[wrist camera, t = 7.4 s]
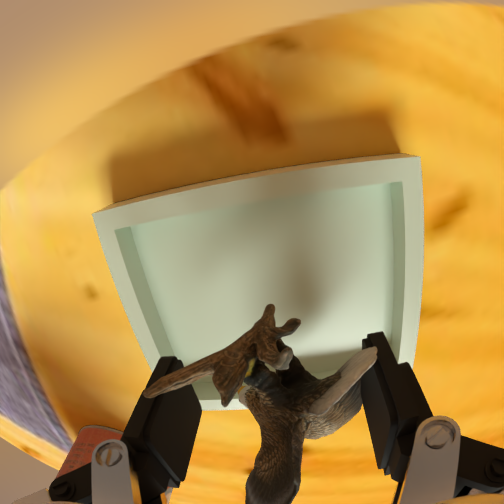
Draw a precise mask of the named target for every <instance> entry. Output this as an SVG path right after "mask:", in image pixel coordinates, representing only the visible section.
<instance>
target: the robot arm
mask: <svg viewBox="0 0 504 504" xmlns="http://www.w3.org/2000/svg"><path fill="white" fill-rule="evenodd" d="M374 346H375V347H376V348H377V354H376V355H377V359H376V361H375V363H374V365H373V366H372V367H371V368H369V369H368V370H367V371H366V372H365V373H364V374H363V375H362V376H361V388H360V391H361V398H362V402H363V406H364V410H365V414H366V418H367V423H368V427H369V431H370V435H371V439H372V444H373V448H374V453H375V457H376V462H377V466H378V469H384V474H385V475H389V474H391V478H392V479H393V480H395V481H397V486H396V489H395V493H394V496H393V499H392V502H391V504H504V449H503V448H499V447H496V446H493V445H489V444H486V443H483V442H480V441H477V440H474V439H471V438H468V437H465V436H462V435H461V433H460V428H459V426H458V424H457V423H456V422H455V421H454V420H453V419H451V418H449V417H446V416H433V414H432V412H431V410H430V407H429V405H428V403H427V401H426V398H425V396H424V394H423V392H422V389H421V387H420V385H419V383H418V381H417V379H416V376H415V374H414V372H413V370H412V368H411V366H410V364H409V363H408V362H404V363H400V364H398V363H397V360H396V358H395V356H394V354H393V352H392V349H391V347H390V345H389V343H388V341H387V339H386V336H385V334H384V332H383V331H380V332H375V333H370V334H367V338H365V339H362V350H363V349H367V348H369V347H371V348H372V347H374ZM183 367H184V365H183V362H182V361H181V360H178V359H177V357H176V356H162V357H160V359H159V360H158V363H157V365H156V367H155V369H154V371H153V373H152V375H151V377H150V379H149V381H148V384H147V386H146V388H145V390H146V389H147V388H149V387H150V386H151V385H152V384H154V383H155V382H156V381H157V380H159V379H160V378H161V377H164V376H166V375H168V374H170V373H173V372H175V371H177V370H179V369H181V368H183ZM143 392H144V390H143ZM143 392H142V394H141V396H140V398H139V400H138V402H137V404H136V406H135V409H134V411H133V413H132V415H131V417H130V419H129V422H128V424H127V426H126V428H125V430H124V433H123V435H122V437H121V439H120V440H116V439H109V440H106V441H103V442H101V443H100V444H98V445H97V446H96V447H95V449H94V451H93V452H92V462H90V463H88V464H86V465H84V466H82V467H79V468H77V469H75V470H73V471H71V472H69V473H66V474H64V475H62V476H59V477H58V478H56V479H55V480H54V481H53V482H52V483H51V485H50V487H49V490H48V489H46V488H45V489H42V490H40V491H38V492H36V493H33V494H31V495H28V496H26V497H23V498H21V499H18V500H16V501H14V502H13V503H12V504H167V501H166V496H165V492H166V491H167V487H174V488H179V486H180V482H181V481H182V482H183V481H184V480H185V477H186V473H187V469H188V465H189V461H190V457H191V453H192V449H193V445H194V441H195V438H196V434H197V430H198V426H199V422H200V418H201V414H202V407H201V404H200V402H199V400H198V397H197V395H196V393H195V391H194V388H193V386H192V384H188V385H185V386H183V387H181V388H179V389H176V390H172V391H169V392H166V393H162V394H159V395H157V396H155V397H153V398H146V397H145V396H144V395H143Z"/></svg>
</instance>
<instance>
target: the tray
mask: <svg viewBox="0 0 504 504" xmlns="http://www.w3.org/2000/svg"><path fill="white" fill-rule="evenodd" d="M92 216H93V219H94V223H95V226H96V229H97V233H98V236H99V239H100V242H101V245H102V249H103V252H104V255H105V258H106V261H107V264H108V266H109V269H110V272H111V275H112V278H113V281H114V283H115V286H116V289H117V291H118V294H119V297H120V299H121V302H122V304H123V307H124V309H125V312H126V314H127V317H128V319H129V322H130V324H131V326H132V329H133V331H134V333H135V336H136V338H137V340H138V343H139V345H140V347H141V349H142V351H143V354H144V356H145V358H146V360H147V362H148V364H149V366H150V368H151V371H152V373H153V371H154V369H155V367H156V365H157V363H158V360H159V359H160V357H162V356H176V357H177V359H178V360H181V361H182V362H183V365H184V367H185V366H188V365H190V364H192V363H194V362H196V361H198V360H200V359H202V358H204V357H206V356H209V355H211V354H213V353H215V352H217V351H220V350H222V349H224V348H226V347H227V346H229V345H230V344H232V343H233V342H234V341H236V340H237V339H238V338H240V337H241V336H242V335H243V334H244V333H246V332H247V331H249V330H250V329H251V328H252V327H253V326H254V323H255V322H257V321H258V320H259V319H261V317H262V315H263V313H264V310H265V307H266V306H267V305H268V304H274V306H275V313H274V317H275V321H276V327H282V326H283V325H284V324H285V323H286V322H287V320H289V319H291V318H297V319H300V320H301V324H300V326H299V327H298V328H297V330H296V331H295V332H294V333H293V334H291V335H288V336H284V337H282V338H281V339H282V341H283V343H284V344H285V345H287V346H289V347H291V348H292V350H293V354H294V356H296V357H297V358H298V359H299V361H300V362H301V364H302V365H303V367H304V368H305V370H307V371H308V372H309V373H310V374H311V375H313V376H314V377H316V378H317V379H324V378H326V377H328V376H331V375H333V374H335V373H336V372H337V371H338V369H340V368H341V367H342V366H343V365H344V364H345V363H346V362H347V361H348V360H349V359H350V358H351V357H352V356H353V355H355V354H356V353H357V352H359V351H361V350H362V339H365V338H367V334H370V333H375V332H380V331H383V332H384V334H385V336H386V339H387V341H388V343H389V345H390V347H391V349H392V352H393V354H394V356H395V358H396V360H397V363H398V364H400V363H404V362H408V363H409V364H410V366H411V368H412V369H413V363H414V357H415V351H416V344H417V336H418V328H419V319H420V310H421V298H422V284H423V264H424V205H423V185H422V171H421V160H420V156H415V155H409V154H403V153H396V154H385V155H375V156H365V157H356V158H347V159H339V160H331V161H323V162H316V163H309V164H302V165H295V166H288V167H282V168H276V169H270V170H264V171H258V172H252V173H247V174H241V175H236V176H231V177H226V178H220V179H215V180H211V181H206V182H201V183H196V184H191V185H187V186H182V187H178V188H173V189H169V190H165V191H161V192H156V193H152V194H148V195H144V196H140V197H136V198H132V199H128V200H124V201H121V202H117V203H113V204H111V205H109V206H107V207H105V208H103V209H101V210H99V211H97V212H95V213H93V214H92ZM265 365H266V366H267V367H268V368H269V370H270V371H273V372H275V373H276V370H275V369H274V368H272V367H271V366H270V365H268V364H266V363H265ZM360 378H361V377H360ZM191 384H192V386H193V388H194V391H195V393H196V395H197V397H198V400H199V402H200V404H201V407H202V410H237V409H248V408H246V407H245V406H244V405H243V404H241V403H240V402H239V395H238V392H237V393H236V394H235V396H234V398H233V399H232V400H231V402H230V403H229V405H228V406H227V407H223V406H222V404H221V396H220V394H219V392H218V390H217V389H216V387H215V385H214V384H213V381H212V376H210V375H209V376H205V377H202V378H200V379H199V380H197V381H196V382H193V383H191ZM242 386H248V385H247V384H245V383H244V382H243V384H242Z"/></svg>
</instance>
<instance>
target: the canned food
mask: <svg viewBox="0 0 504 504" xmlns="http://www.w3.org/2000/svg"><path fill="white" fill-rule="evenodd" d="M123 433H124V432H122V431H119V430H116V429H112V428H109V427H104V426H98V425H89V426H85V427H83V428H82V429H81V430H80V431H79V435H78V437H77V439H76V441H75V442H74V444H73V446H72V448H71V450H70V452H69V454H68V455H67V457H66V459H65V461H64V463H63V465H62V467H61V469H60V471H59V473H58V475H57V477H56V478H58V477H59V476H62V475H64V474H66V473H69V472H71V471H73V470H75V469H77V468H79V467H82V466H84V465H86V464H88V463H90V462H92V452H93V451H94V449H95V447H96V446H97V445H98V444H100V443H101V442H103V441H106V440H109V439H116V440H120V439H121V437H122V435H123ZM172 489H173V487H167V491H166V492H165V496H166V501H167V504H169V500H170V497H171V493H172Z"/></svg>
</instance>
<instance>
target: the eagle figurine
mask: <svg viewBox="0 0 504 504" xmlns="http://www.w3.org/2000/svg"><path fill="white" fill-rule="evenodd" d="M274 313H275V306H274V304H268V305H267V306H266V307H265V310H264V313H263V315H262V317H261V319H259V320H258V321H257V322H255V323H254V326H253V327H252V328H251V329H250V330H249V331H247V332H246V333H244V334H243V335H242V336H241V337H240V338H238V339H237V340H236V341H234V342H233V343H232V344H230V345H229V346H227V347H226V348H224V349H222V350H220V351H217V352H215V353H213V354H211V355H209V356H206V357H204V358H202V359H200V360H198V361H196V362H194V363H192V364H190V365H188V366H185V367H183V368H181V369H179V370H177V371H175V372H173V373H170V374H168V375H166V376H164V377H161V378H160V379H159V380H157V381H156V382H155V383H154V384H152V385H151V386H150V387H149V388H147V389H146V390H144V392H143V395H144V396H145V397H146V398H153V397H155V396H157V395H159V394H162V393H166V392H169V391H172V390H176V389H179V388H181V387H183V386H185V385H188V384H191V383H193V382H196V381H197V380H199V379H200V378H202V377H205V376H209V375H210V376H212V381H213V384H214V385H215V387H216V389H217V390H218V392H219V394H220V396H221V404H222V406H223V407H227V406H228V405H229V403H230V402H231V400H232V399H233V398H234V396H235V394H236V393H237V392H238V395H239V402H240V403H241V404H243V405H244V406H245V407H246V408H248V409H249V410H250V411H251V413H252V414H253V416H254V418H255V419H256V421H257V422H258V424H259V426H260V429H261V437H262V443H261V448H260V451H259V453H258V454H257V456H256V459H255V464H254V469H253V470H252V471H251V473H250V475H249V477H248V479H247V482H246V500H245V503H246V504H291V503H292V501H293V499H294V498H295V496H296V494H297V492H298V491H299V486H300V482H301V461H302V450H303V441H304V438H307V439H318V438H321V437H323V436H327V435H330V434H332V433H334V432H335V431H336V430H338V429H339V428H340V427H342V426H343V425H344V424H346V423H347V422H348V421H349V420H351V419H352V418H353V417H354V416H355V415H356V414H357V413H358V412H359V411H360V409H361V406H362V403H363V402H362V398H361V391H360V388H361V378H360V377H361V376H362V375H363V374H364V373H365V372H366V371H367V370H368V369H369V368H371V367H372V366H373V365H374V363H375V361H376V359H377V355H376V354H377V348H376V347H375V346H374V347H372V348H371V347H369V348H367V349H363V350H361V351H359V352H357V353H356V354H355V355H353V356H352V357H351V358H350V359H349V360H348V361H347V362H346V363H345V364H344V365H343V366H342V367H341V368H340V369H338V371H337V372H336V373H335V374H333V375H331V376H328V377H326V378H324V379H317V378H316V377H314V376H313V375H311V374H310V373H309V372H308V371H307V370H305V368H304V367H303V365H302V364H301V362H300V361H299V359H298V358H297V357H296V356H294V354H293V350H292V348H291V347H289V346H287V345H285V344H284V343H283V341H282V339H281V338H282V337H284V336H288V335H291V334H293V333H294V332H295V331H296V330H297V328H298V327H299V326H300V324H301V320H300V319H297V318H291V319H289V320H287V322H286V323H285V324H284V325H283V326H282V327H276V321H275V317H274ZM265 363H266V364H268V365H270V366H271V367H272V368H274V369H275V370H276V373H275V372H273V371H270V370H269V368H268V367H267V366H266V365H265ZM243 382H244V383H245V384H247V385H248V386H242V384H243Z"/></svg>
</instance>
